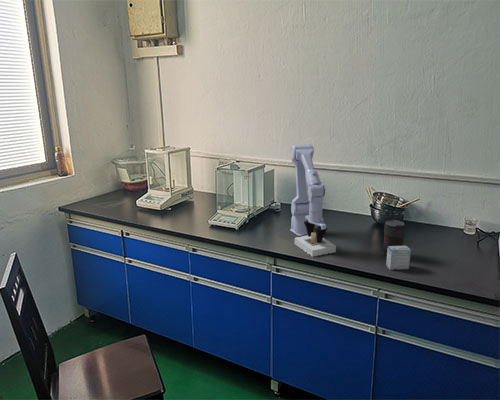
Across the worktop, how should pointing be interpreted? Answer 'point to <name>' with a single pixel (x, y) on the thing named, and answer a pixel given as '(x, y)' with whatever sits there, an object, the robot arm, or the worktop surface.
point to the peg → (313, 238)
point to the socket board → (315, 246)
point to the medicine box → (398, 257)
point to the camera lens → (393, 234)
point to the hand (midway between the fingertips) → (314, 239)
